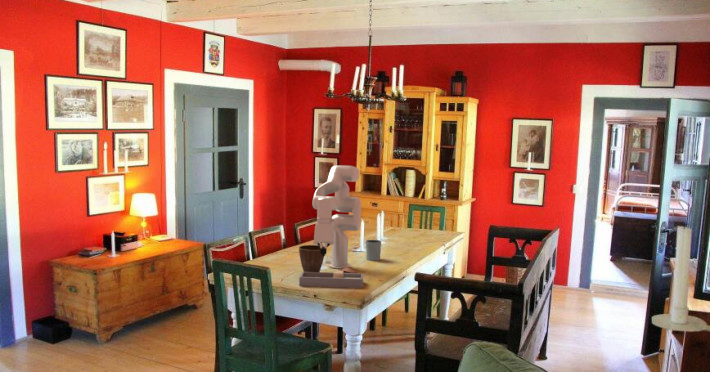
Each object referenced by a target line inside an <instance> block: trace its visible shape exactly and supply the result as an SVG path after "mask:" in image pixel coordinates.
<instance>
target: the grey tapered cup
mask: <svg viewBox="0 0 710 372" xmlns="http://www.w3.org/2000/svg"><path fill="white" fill-rule="evenodd" d="M381 249H382V240H380V239H367V240H365V250H366V251H365V252H366V253H365V254H366V260H367V261H369V262H378V261H380V260H381V251H382V250H381Z"/></svg>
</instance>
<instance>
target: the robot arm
mask: <svg viewBox="0 0 710 372" xmlns="http://www.w3.org/2000/svg"><path fill="white" fill-rule="evenodd" d="M359 178H360V170H359V169H358V167H357V166H353V165H342V164H341V165H333V166H332V167H331V168H330V170H329V173H328V177H327V180H326V182H324V183H323V184H321V185H320V186H319V187H317V188H316V190H314V191H315V192H314V194H313V198H312V202H311V203H312V208H313V209H314V210H317V211H316V215H317V218H316V220H317V221H316V223H315V226H314V235H313V240H314V241H313V245H318V246H319V247H320V248H321V254H322V256H324V257H325V256H326V255H327V252H328V251H327V248H328V247H329V246H331V263H329V264H328V267H330V268H332V269H343V268H345V267H346V266H347V267H348V268H350V267H351V264H350V263H348V262H349V261H348V258H349V257H348V253H349V251H348V250H349V237H348V235H347V233H346V231H348V232H349V231H350V232H351V231H352V232H358V231H359V230H360V228H361V216H362V215H361V214H362V212H361V211H362V202H361V199H360V197H358V196H351V195H350V187H349V185H348V183H347V182H351V183H352V182H353V183H355V182H357V181H358V180H359ZM330 194H331V195H332V194H334V195H333V196H331V195H330ZM329 195H330V196H329ZM332 211H336V212H338V213H336V214H334V215H332V214H333V213H332ZM339 213H340V214H339ZM342 213H343V214H342ZM344 213H351V214H344ZM323 243H324V245H323ZM323 246H324V248H323Z"/></svg>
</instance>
